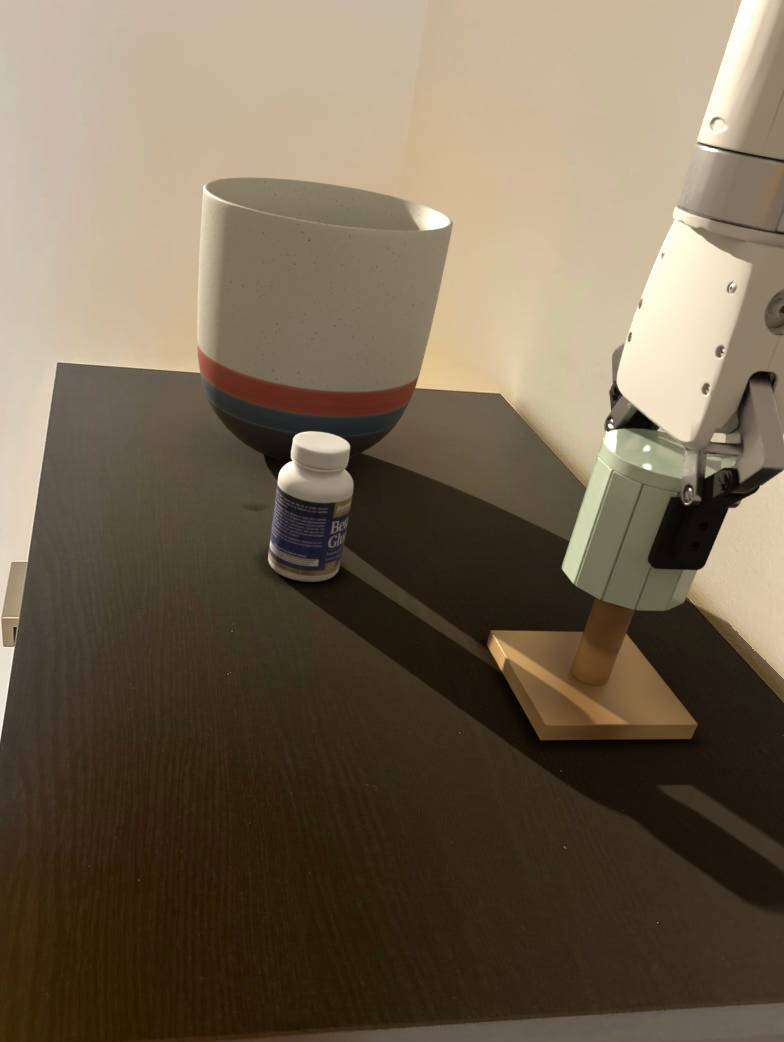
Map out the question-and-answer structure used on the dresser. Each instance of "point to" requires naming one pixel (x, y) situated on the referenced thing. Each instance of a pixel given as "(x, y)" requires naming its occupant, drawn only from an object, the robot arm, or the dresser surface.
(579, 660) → the peg stand
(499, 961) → the dresser surface
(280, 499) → the pill bottle
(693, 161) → the robot arm
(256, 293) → the planter
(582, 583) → the cup
